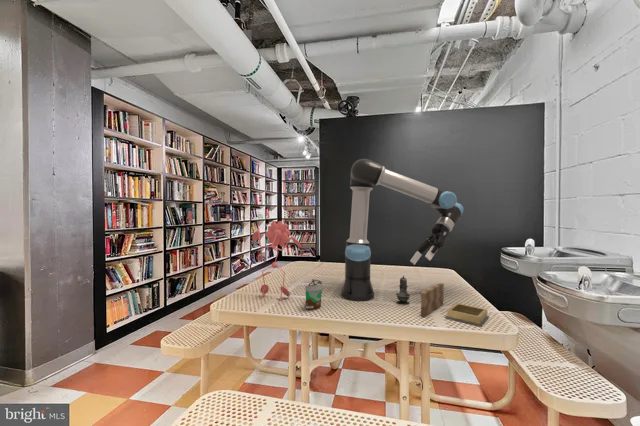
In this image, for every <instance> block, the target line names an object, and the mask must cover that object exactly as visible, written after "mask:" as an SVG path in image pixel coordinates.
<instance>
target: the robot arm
mask: <svg viewBox="0 0 640 426" xmlns="http://www.w3.org/2000/svg"><path fill="white" fill-rule="evenodd" d="M378 185H380V186H383V187H385V188H388V189H390V190H392V191H393V190H394V191H396V192H399V193H400V194H404V195H407V196H409V197H411V198H415V199H418V200H420V201H422V202H425V203H426V204H427V205H429V206H430V207H431V208H432V209H433V210H434V211H435V212H437V213H438V214H439V215H440V217H439V218H438V219H437V221H436V222H435V224H434V225H433V227H432V228H431V233H432V234H430V236H427V238H426V239H424V241H423V242H422V243H421V244H420V245H419V246H418V248H416V249H415V253H414V254H413V256H412V257H411V259H410V260H409V262H410V263H412V265H413V266H415V265H416V263H418V261H419V260H420V258H421V257H422V256H423V253H424V252H425V251H427V249H429V248H430V249H429V250H428V251H427V252H426V254H425V256H424V257H425V258H426V259H427V260H428V261H429V262H430V261H431V260H432V259H433V257H434V256H435V254H436V253H437V251H438V250H440V248H442V247H444V244H445V242H446V238H447V237H448V236H449V234H450V232H452V231H453V228H454V227H455V225H456V223H458V221H459V219H461V217H462V215H463V213H464V209H465V208H464V206H463V204H461V203H459V202H458V198H457V195H456V194H455V193H454V192H453V191H449V190H448V191H446V190H443V189H440V188H437V187H434V186H432V185H429V184H427V183H424V182H422V181H420V180H419V181H418V180H416V179H413V178H410V177H408V176H405V175H402V174H400V173H397V172H394V171H392V170H389V169H387V168H386V167H385V166H384V165H382V164H380V163H377V162H375V161H373V160H371V159H368V158H361V159H357V160H356V161H355V162H354V163H353V164H352V166H351V169H350V184H349V188H350V189H351V190H352V199H351V211H350V212H351V213H350V227H349V228H350V229H349V238H348V239H347V240H346V241H345V251H344V258H345V261H344V263H345V265H344V269H345V270H344V271H345V272H344V281H343V285H342V288H341V291H340V292H341V294H340V295H341V298H343V299H346V300H349V301H352V302H353V301H356V302H364V301H365V302H366V301H370V300H373V299H374V298H375V291H374V288H373V284H372V281H371V255H372V251H371V247H370V241H369V240H368V238H367V237H368V236H367V235H368V225H369V224H368V223H369V222H368V221H369V210H370V209H369V207H370V206H369V205H370V193H371V191H373V190H374V186H378Z"/></svg>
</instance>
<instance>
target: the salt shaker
mask: <svg viewBox="0 0 640 426" xmlns="http://www.w3.org/2000/svg"><path fill="white" fill-rule="evenodd" d="M398 286H399V292H398V293H396V298H397V300H398V301H397V302H396V304H398V305H402V306H409V305H410V302H409V300H410V297H411V295H410V294H409V292H408V287H409V286H408V279H407V278H406V277H405V275H402V277H400V278H399V285H398Z"/></svg>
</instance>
